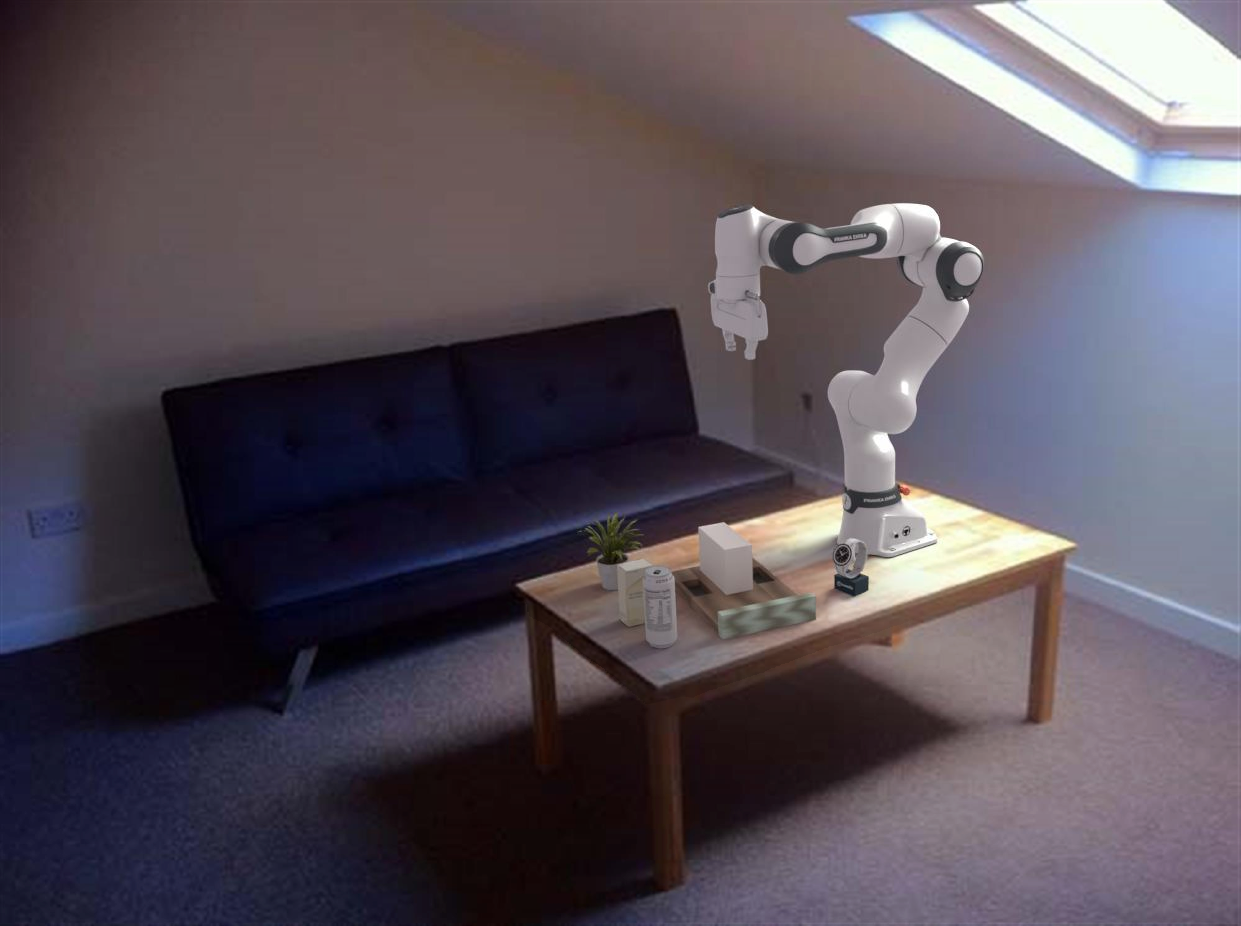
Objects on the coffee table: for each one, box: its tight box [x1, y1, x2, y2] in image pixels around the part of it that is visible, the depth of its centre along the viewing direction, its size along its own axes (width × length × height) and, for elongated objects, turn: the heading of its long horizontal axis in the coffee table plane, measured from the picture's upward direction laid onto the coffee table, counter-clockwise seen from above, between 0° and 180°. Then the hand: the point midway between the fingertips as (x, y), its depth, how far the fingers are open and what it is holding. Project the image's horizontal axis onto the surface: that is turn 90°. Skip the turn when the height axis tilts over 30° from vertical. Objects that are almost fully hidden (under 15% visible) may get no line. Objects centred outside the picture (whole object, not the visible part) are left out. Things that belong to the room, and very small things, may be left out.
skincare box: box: [617, 558, 654, 628], centre depth 222 cm, size 6×4×12 cm
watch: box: [831, 538, 870, 597], centre depth 230 cm, size 6×8×11 cm
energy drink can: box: [643, 565, 678, 649], centre depth 212 cm, size 6×6×15 cm
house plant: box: [577, 511, 643, 591], centre depth 237 cm, size 14×14×16 cm
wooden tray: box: [671, 556, 817, 640], centre depth 229 cm, size 20×30×5 cm, turn 18°
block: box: [697, 521, 753, 595], centre depth 233 cm, size 6×14×10 cm, turn 18°
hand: (740, 354), depth 230 cm, fingers open, 8 cm apart
